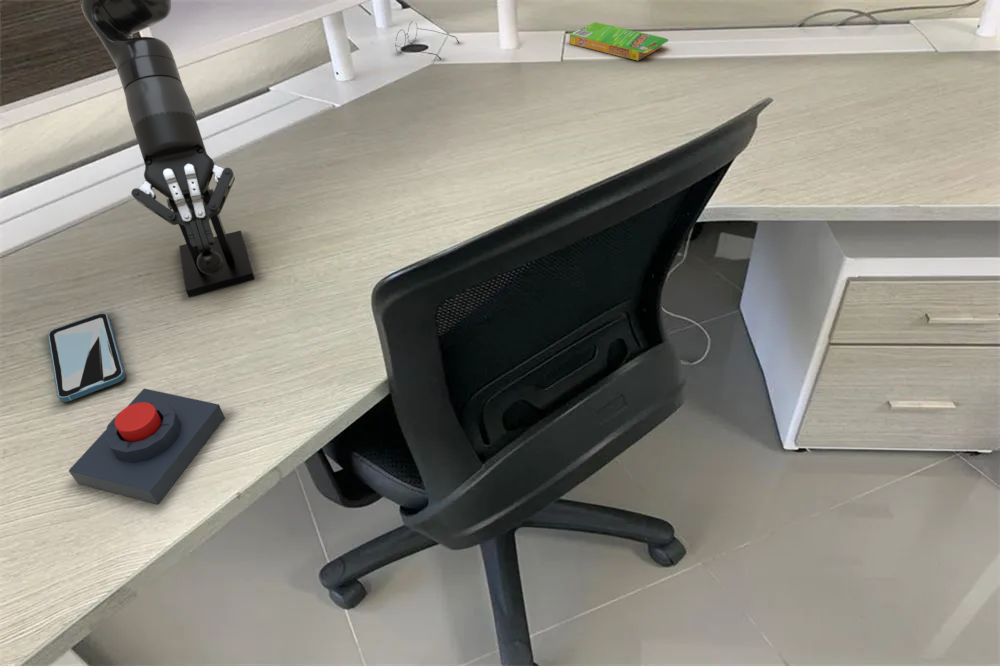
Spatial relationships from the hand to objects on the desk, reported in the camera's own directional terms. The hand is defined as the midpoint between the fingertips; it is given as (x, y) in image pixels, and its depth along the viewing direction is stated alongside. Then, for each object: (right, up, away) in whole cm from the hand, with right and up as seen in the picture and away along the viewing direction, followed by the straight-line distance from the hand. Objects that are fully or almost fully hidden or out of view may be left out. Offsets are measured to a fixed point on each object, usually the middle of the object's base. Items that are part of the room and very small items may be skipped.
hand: (205, 249), depth 90 cm
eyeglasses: (+21, +55, +73) cm, 94 cm away
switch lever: (-2, +2, +4) cm, 5 cm away
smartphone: (-14, -14, -2) cm, 20 cm away
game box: (+64, +54, +69) cm, 108 cm away
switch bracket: (-3, -1, +12) cm, 12 cm away
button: (0, -21, -16) cm, 26 cm away
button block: (0, -23, -14) cm, 27 cm away
